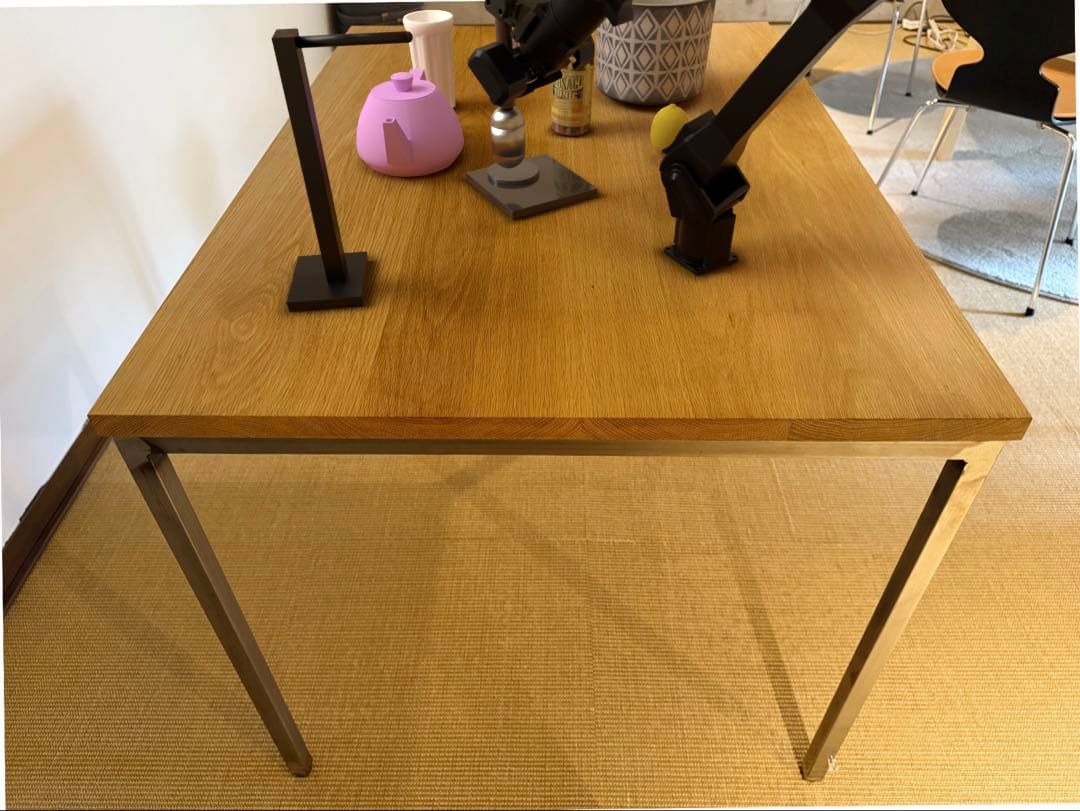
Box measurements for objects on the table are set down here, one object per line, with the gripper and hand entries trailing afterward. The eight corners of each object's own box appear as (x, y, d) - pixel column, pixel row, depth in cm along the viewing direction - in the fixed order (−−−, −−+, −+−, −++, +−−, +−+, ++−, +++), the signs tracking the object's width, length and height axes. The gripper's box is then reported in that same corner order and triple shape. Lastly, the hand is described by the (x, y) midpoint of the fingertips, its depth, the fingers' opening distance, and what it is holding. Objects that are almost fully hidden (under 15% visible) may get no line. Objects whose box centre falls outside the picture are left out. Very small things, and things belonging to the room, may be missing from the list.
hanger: (440, 254, 91) (412, 13, 74) (441, 300, 83) (411, 42, 66) (300, 265, 90) (238, 21, 72) (288, 311, 82) (217, 51, 65)
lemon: (685, 168, 109) (691, 112, 103) (646, 165, 110) (651, 109, 104) (687, 153, 113) (693, 98, 108) (650, 150, 114) (654, 96, 108)
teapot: (378, 130, 121) (365, 51, 114) (474, 131, 120) (468, 51, 113) (341, 190, 105) (324, 102, 97) (453, 192, 104) (444, 102, 96)
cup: (404, 106, 130) (393, 15, 120) (445, 96, 133) (436, 7, 124) (429, 120, 125) (419, 26, 115) (470, 108, 128) (463, 17, 119)
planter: (708, 81, 137) (721, -21, 127) (698, 118, 123) (712, 7, 113) (604, 74, 141) (608, -26, 130) (583, 110, 127) (585, 1, 116)
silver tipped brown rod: (532, 165, 101) (527, -60, 84) (512, 176, 98) (503, -53, 81) (506, 157, 103) (496, -63, 86) (486, 168, 100) (472, -57, 83)
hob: (597, 196, 102) (598, 183, 101) (512, 220, 97) (512, 207, 96) (545, 160, 111) (545, 148, 110) (465, 180, 107) (464, 168, 106)
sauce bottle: (544, 134, 119) (543, -7, 106) (562, 121, 124) (562, -16, 111) (582, 141, 117) (585, -2, 104) (598, 127, 121) (603, -12, 108)
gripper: (576, -62, 88) (505, 27, 100) (474, -33, 77) (408, 63, 89) (630, 21, 90) (554, 99, 102) (538, 62, 78) (465, 144, 90)
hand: (498, 99), depth 96 cm, fingers closed on silver tipped brown rod, 2 cm apart
